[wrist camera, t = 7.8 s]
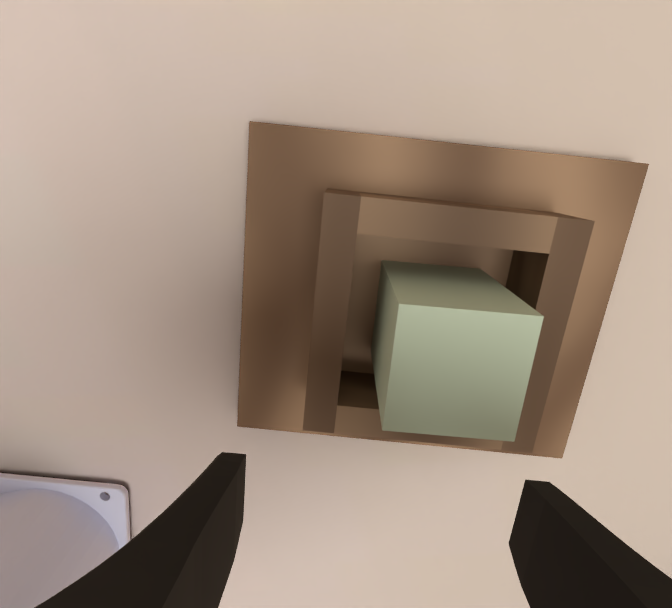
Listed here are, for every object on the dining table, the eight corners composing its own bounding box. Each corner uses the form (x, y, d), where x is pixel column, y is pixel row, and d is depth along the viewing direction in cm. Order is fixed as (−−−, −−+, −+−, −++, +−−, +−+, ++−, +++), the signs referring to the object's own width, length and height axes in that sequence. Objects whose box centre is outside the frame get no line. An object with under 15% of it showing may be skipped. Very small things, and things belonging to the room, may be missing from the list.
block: (370, 351, 19) (382, 430, 13) (381, 259, 18) (399, 304, 12) (463, 359, 19) (514, 441, 13) (480, 268, 18) (543, 316, 12)
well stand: (242, 414, 21) (219, 468, 17) (254, 123, 17) (229, 111, 14) (552, 445, 21) (597, 505, 18) (632, 164, 18) (711, 163, 14)
